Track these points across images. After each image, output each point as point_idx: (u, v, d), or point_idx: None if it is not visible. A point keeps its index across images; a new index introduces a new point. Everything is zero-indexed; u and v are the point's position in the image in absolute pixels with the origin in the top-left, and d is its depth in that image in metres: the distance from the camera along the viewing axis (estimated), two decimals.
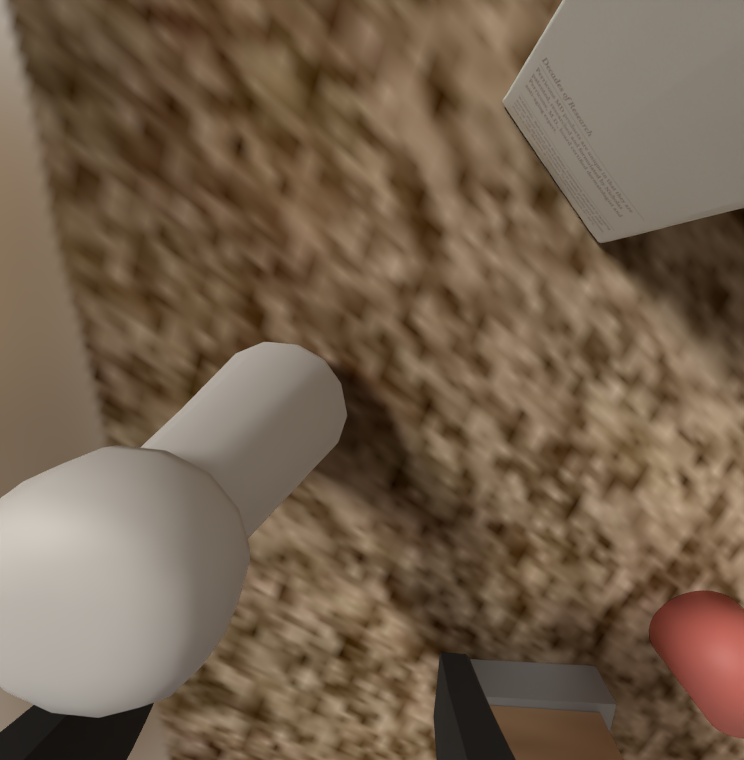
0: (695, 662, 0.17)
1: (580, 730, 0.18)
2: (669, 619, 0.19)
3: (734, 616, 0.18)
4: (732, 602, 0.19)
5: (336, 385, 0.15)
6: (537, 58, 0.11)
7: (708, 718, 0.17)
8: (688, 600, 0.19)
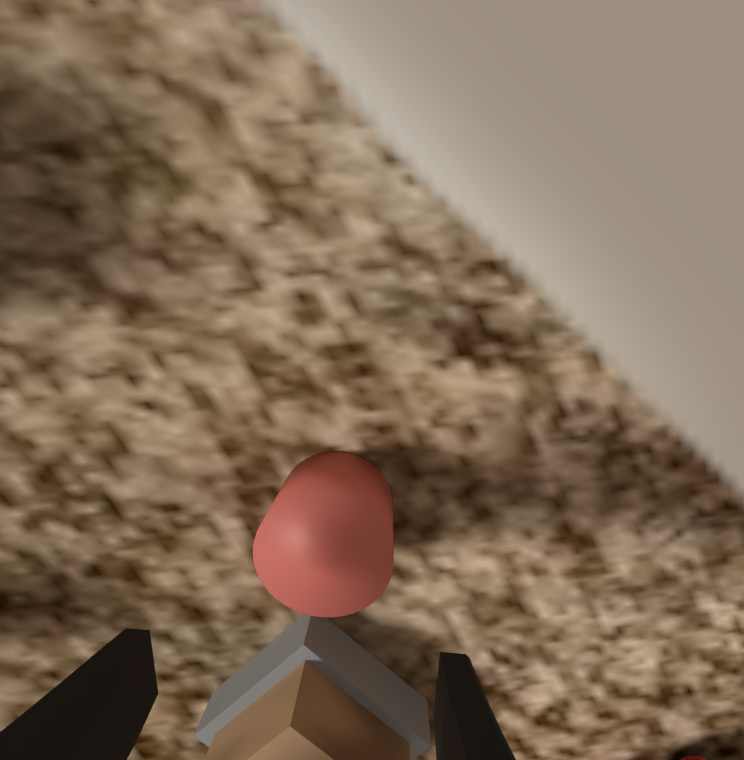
0: None
1: (277, 699, 0.15)
2: None
3: (286, 484, 0.14)
4: (309, 461, 0.15)
5: None
6: None
7: (313, 614, 0.13)
8: None
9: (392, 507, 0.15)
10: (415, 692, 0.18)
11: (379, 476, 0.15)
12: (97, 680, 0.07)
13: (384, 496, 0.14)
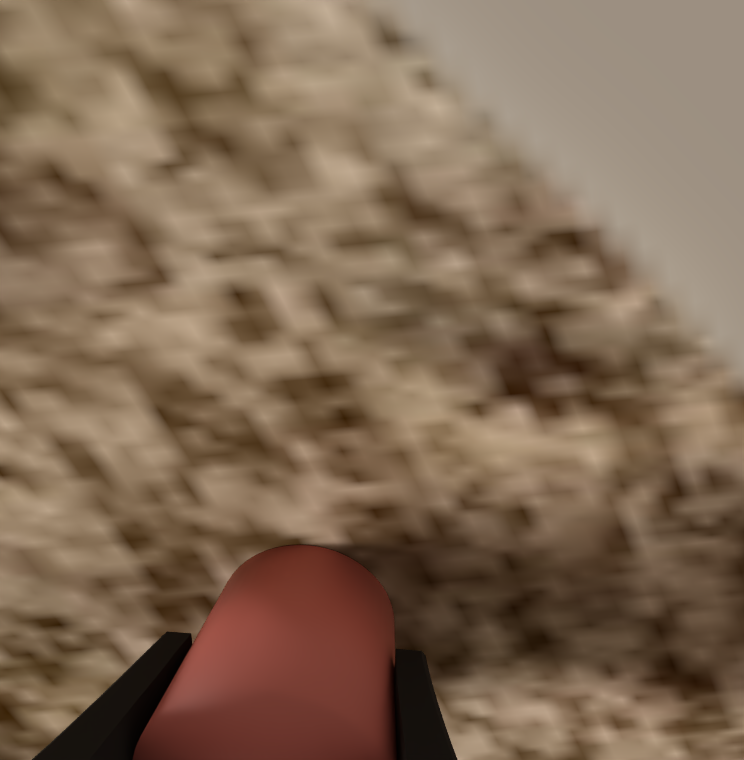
0: None
1: None
2: None
3: (210, 618, 0.08)
4: (257, 567, 0.09)
5: None
6: None
7: None
8: None
9: (394, 640, 0.09)
10: None
11: (373, 591, 0.09)
12: (146, 684, 0.07)
13: (380, 638, 0.08)
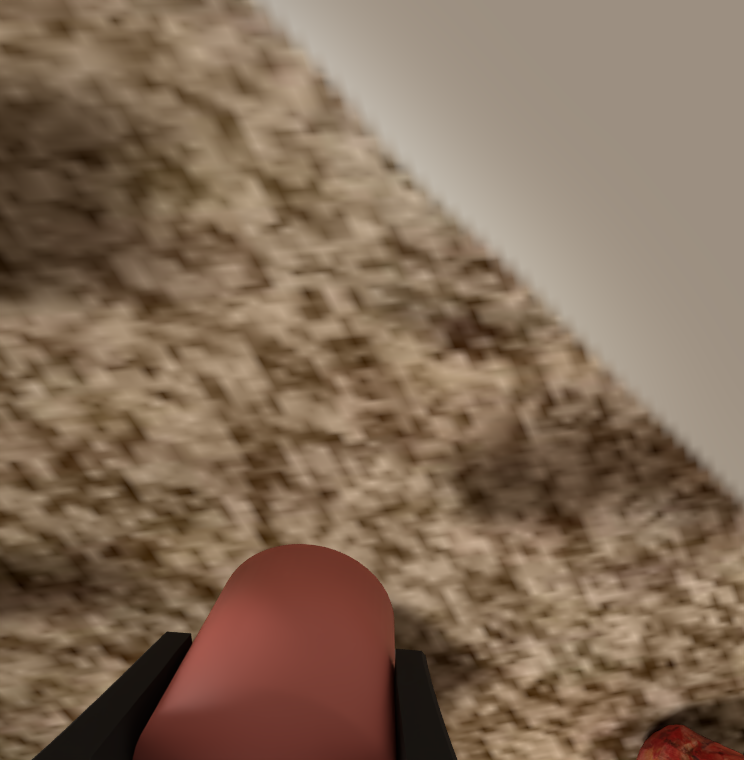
0: None
1: None
2: None
3: (211, 617, 0.08)
4: (257, 566, 0.09)
5: None
6: None
7: None
8: None
9: (394, 640, 0.09)
10: None
11: (373, 590, 0.09)
12: (146, 684, 0.07)
13: (380, 637, 0.08)
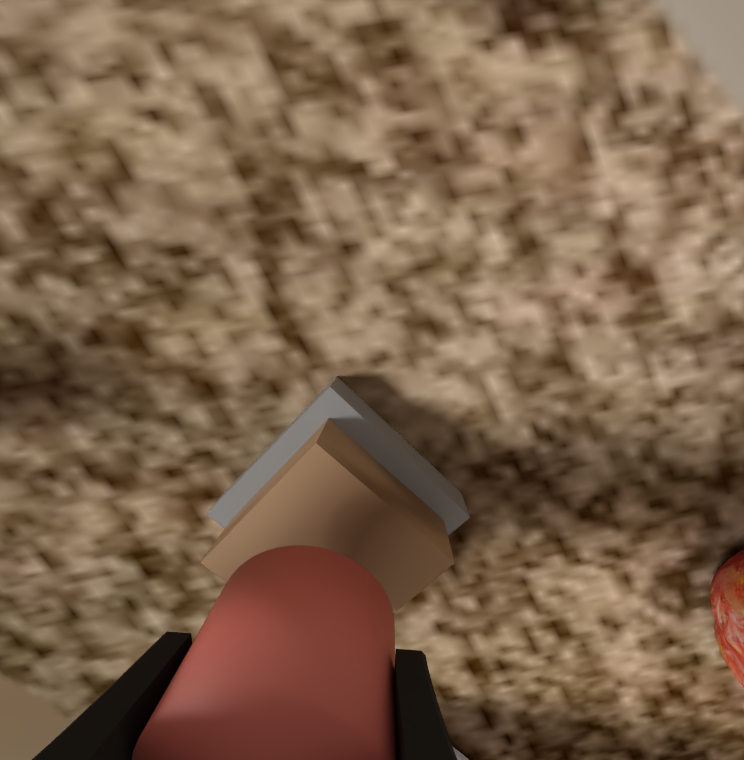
0: None
1: (299, 451, 0.14)
2: None
3: (209, 619, 0.08)
4: (256, 567, 0.09)
5: None
6: None
7: None
8: None
9: (394, 641, 0.09)
10: (448, 481, 0.17)
11: (373, 591, 0.09)
12: (146, 684, 0.07)
13: (380, 639, 0.08)
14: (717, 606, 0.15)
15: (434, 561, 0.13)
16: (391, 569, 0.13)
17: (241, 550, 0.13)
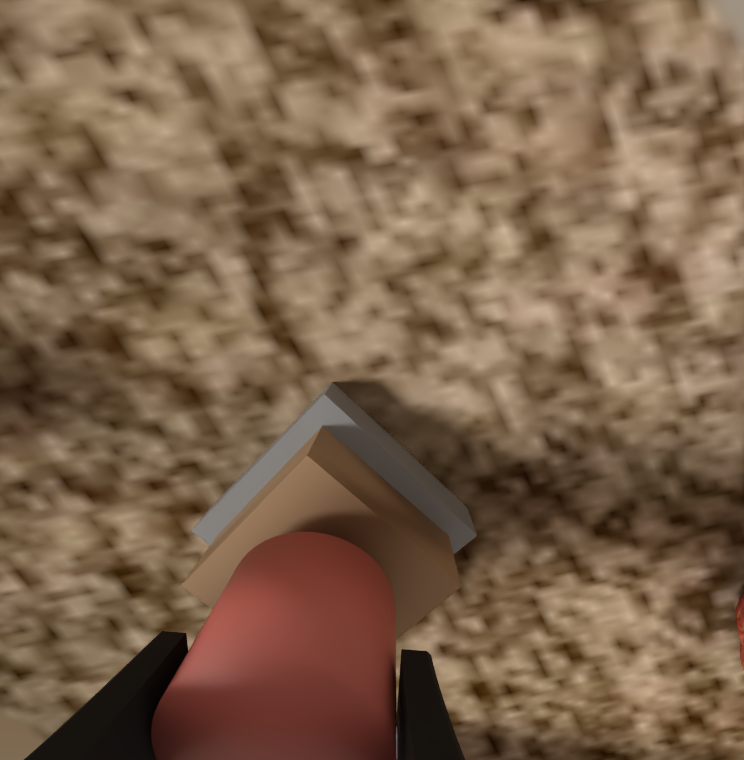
0: None
1: (289, 462, 0.12)
2: None
3: (222, 598, 0.09)
4: (265, 552, 0.10)
5: None
6: None
7: None
8: None
9: (395, 623, 0.10)
10: None
11: (375, 575, 0.10)
12: (140, 684, 0.07)
13: (382, 619, 0.09)
14: None
15: (439, 585, 0.11)
16: None
17: (226, 572, 0.12)
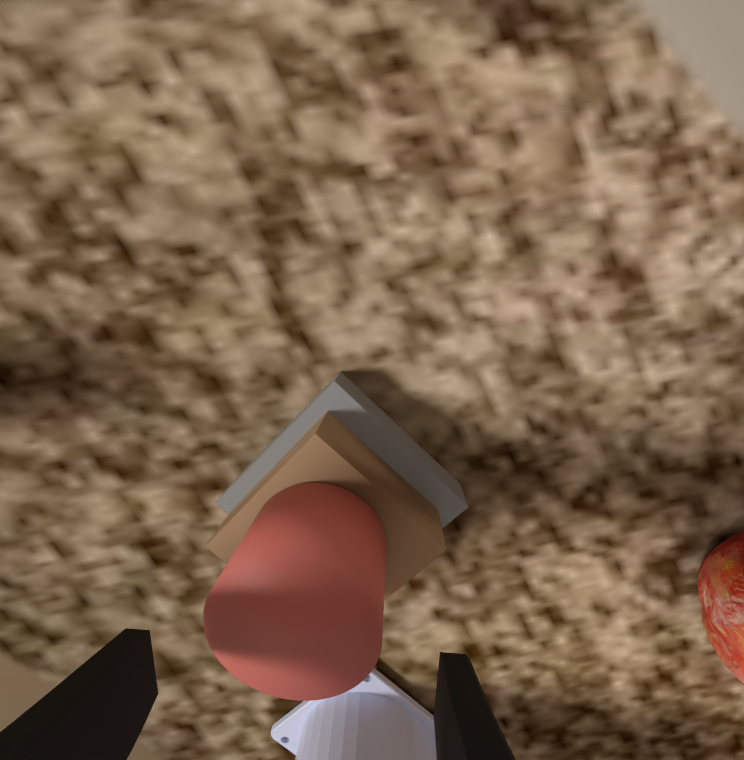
0: None
1: (299, 442, 0.14)
2: None
3: (251, 528, 0.11)
4: (283, 496, 0.12)
5: None
6: None
7: (281, 696, 0.10)
8: None
9: (385, 554, 0.12)
10: None
11: (369, 516, 0.12)
12: (97, 680, 0.07)
13: (374, 545, 0.11)
14: (703, 591, 0.16)
15: (427, 547, 0.13)
16: None
17: (243, 535, 0.13)
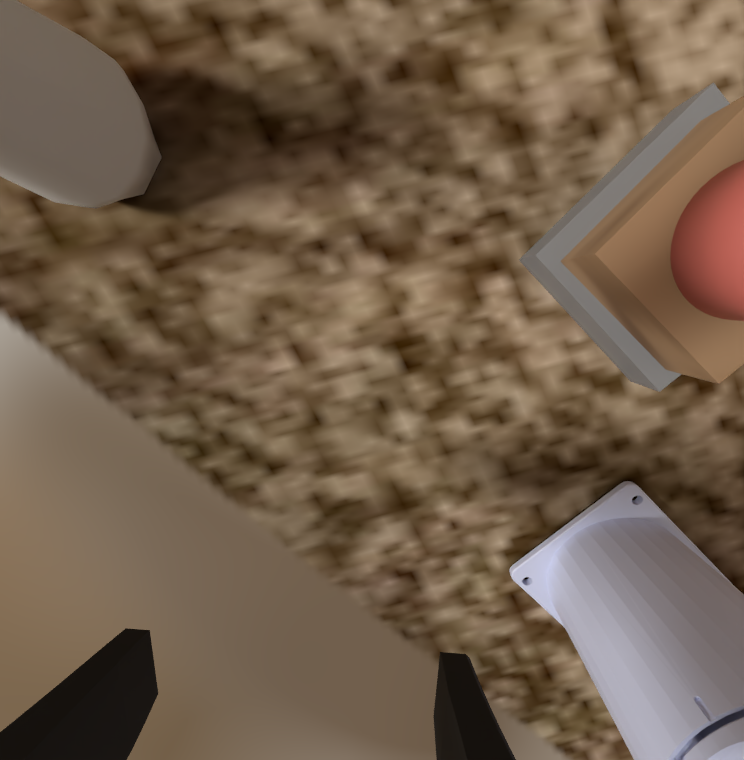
0: None
1: (685, 144, 0.12)
2: (689, 268, 0.11)
3: None
4: None
5: (68, 31, 0.12)
6: None
7: None
8: (687, 221, 0.11)
9: None
10: None
11: None
12: (97, 680, 0.07)
13: None
14: None
15: None
16: None
17: (646, 234, 0.12)
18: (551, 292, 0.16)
